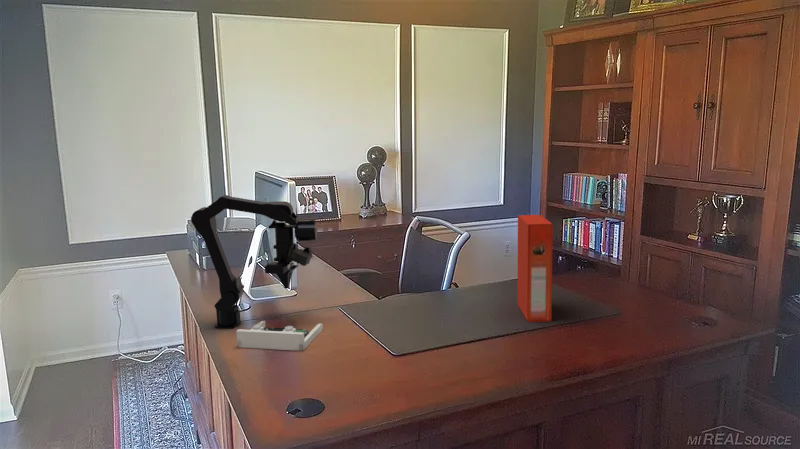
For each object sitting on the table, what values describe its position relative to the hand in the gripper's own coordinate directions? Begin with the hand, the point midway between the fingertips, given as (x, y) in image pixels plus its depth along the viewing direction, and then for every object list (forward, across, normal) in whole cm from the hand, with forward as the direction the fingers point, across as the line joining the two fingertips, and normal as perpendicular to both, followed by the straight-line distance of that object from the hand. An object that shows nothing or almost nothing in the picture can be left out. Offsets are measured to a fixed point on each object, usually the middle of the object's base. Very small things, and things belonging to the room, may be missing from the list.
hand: (286, 288), depth 194 cm
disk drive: (+12, -16, -4) cm, 20 cm away
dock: (+12, -13, -4) cm, 18 cm away
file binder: (+11, +22, -78) cm, 82 cm away
